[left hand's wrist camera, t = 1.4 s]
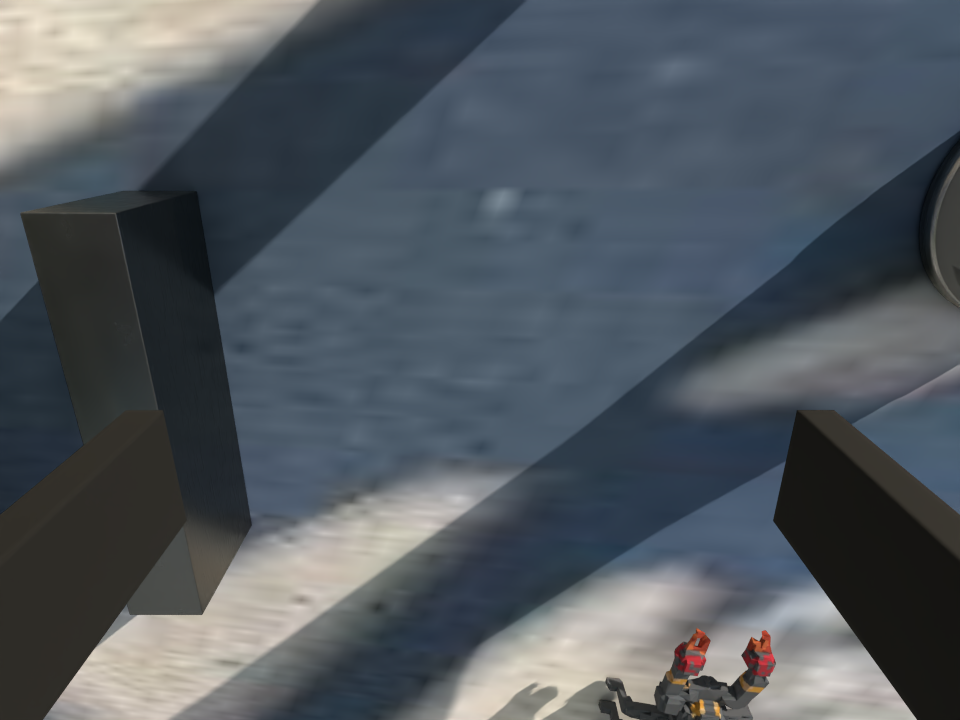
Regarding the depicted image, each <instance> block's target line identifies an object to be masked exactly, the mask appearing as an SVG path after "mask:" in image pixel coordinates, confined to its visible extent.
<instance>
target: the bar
mask: <svg viewBox="0 0 960 720" xmlns="http://www.w3.org/2000/svg"><path fill="white" fill-rule="evenodd" d="M21 218H22V221H23V225H24V229H25V232H26V236H27V240H28V243H29V247H30V251H31V254H32V258H33V262H34V265H35V269H36V273H37V276H38V280H39V284H40V287H41V291H42V295H43V298H44V302H45V305H46V309H47V313H48V316H49V320H50V324H51V327H52V331H53V335H54V338H55V342H56V346H57V349H58V353H59V357H60V360H61V364H62V368H63V371H64V375H65V379H66V382H67V386H68V390H69V393H70V397H71V401H72V404H73V408H74V412H75V415H76V419H77V423H78V426H79V430H80V434H81V437H82V441H83V445H85V444H86V443H87V442H88V441H90V440H91V439H92V438H93V437H94V436H96V435H97V434H98V433H99V432H100V431H102V430H103V429H104V428H105V427H106V426H108V425H109V424H110V423H111V422H112V421H114V420H115V419H116V418H117V417H118V416H120V415H121V414H122V413H123V412H124V411H126V410H163V413H164V417H165V422H166V427H167V431H168V436H169V441H170V445H171V450H172V454H173V459H174V464H175V468H176V473H177V478H178V482H179V487H180V492H181V496H182V501H183V505H184V510H185V515H186V519H187V521H186V523H185V524H184V525H183V527H182V528H181V530H180V531H179V532H178V534H177V535H176V536H175V538H174V539H173V541H172V542H171V543H170V545H169V546H168V548H167V549H166V550H165V552H164V553H163V554H162V556H161V557H160V559H159V560H158V561H157V563H156V564H155V565H154V567H153V568H152V570H151V571H150V572H149V574H148V575H147V577H146V578H145V579H144V581H143V582H142V583H141V585H140V586H139V588H138V589H137V590H136V592H135V593H134V594H133V596H132V597H131V599H130V600H129V601H128V603H127V606H128V609H129V613H130V615H202V614H203V612H204V611H205V609H206V607H207V605H208V603H209V602H210V600H211V598H212V596H213V594H214V593H215V591H216V589H217V587H218V585H219V584H220V582H221V580H222V578H223V576H224V575H225V573H226V571H227V569H228V567H229V566H230V564H231V562H232V560H233V558H234V556H235V555H236V553H237V551H238V549H239V547H240V546H241V544H242V542H243V540H244V538H245V537H246V535H247V533H248V531H249V529H250V528H251V526H252V524H251V518H250V512H249V506H248V500H247V494H246V488H245V482H244V476H243V470H242V464H241V457H240V451H239V445H238V439H237V433H236V427H235V421H234V415H233V409H232V403H231V397H230V391H229V385H228V379H227V373H226V367H225V360H224V354H223V348H222V342H221V336H220V330H219V324H218V318H217V312H216V306H215V300H214V294H213V288H212V282H211V276H210V270H209V263H208V257H207V251H206V245H205V239H204V233H203V227H202V221H201V215H200V209H199V203H198V197H197V192H196V191H120V192H116V193H111V194H106V195H102V196H97V197H92V198H87V199H83V200H78V201H73V202H69V203H64V204H59V205H54V206H50V207H45V208H40V209H36V210H31V211H26V212H22V213H21Z"/></svg>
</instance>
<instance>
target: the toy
mask: <svg viewBox="0 0 960 720" xmlns="http://www.w3.org/2000/svg"><path fill="white" fill-rule="evenodd" d="M697 638H701V639H700V641H699V644H698V646H694V645H695V642H696V640H697ZM770 638H771V637H770V635H769V634H768V633H767V632H766V630H765V631H762V637H761V639H760V641H758V640H756V639H754V638H752V637H751V639H750V641H749V643H748V646H747V648H746V650H745V651H744V652H743V654H742V655H741V656H742V657H743V659H744V661H745V663H746V665H747V667H748V670H747V671H745V672H744V673H743V674H742V675H740V676H739V678H738V679H737V680H736V681H735V682H734V683H733V684H732V685H731V686H727V683H723V682H717V681H716V680H715V679H714V678H713V677H711V676H701V677H699V678H696V679H691V680H687V679H688V677H689V675H693V676H698V674H699V671H700V670H701V671H702V670H703V667H704V664H705V662H706V658H705V656H704V655H705V653H706V651H707V648H708V646H709V644H710V639H709V638H708V637H707V636H706V635H705V633H704V632H702V631H701V630H699V629H697V628H696V634H693V636H692V638H691V639H690V641H689V642H683V643H681V644H680V645H679V646H678V647H677V648H676V649H675V651H674V652H675V659H674V662H673V665H672V667H671V669H670V671H667V672H666V674H665V676H664V679H663V681H662V682H660V684H659V686H656V690H655V694H654V697H655V701H656V705H650V704H645V703H639V702H633V701H632V699H631V698H630V696H627V695H626V692H625V689H624V685H623V682H622V681H621V680H620V679H617V678H606V684H607V687H608V688H609V690H610V691H617V695H618V699H619V703H620V707H621V711H622V713H624V714H625V715H627V716H629V717H631V718H636V719H639V720H753V717H752V715H751V712H750V710H749V708H748V703H749V702H750V701H751V700H752V699H753V698H754V697H756V696H757V695H758V694H759V693H760V692H761V691H762V690H763V689H764V688H765V687H766V686H767V685H768V684H769V682H768V680H767V678H766V676H770V674H771V672H772V671H773V669H774V667H775V665H776V662H775V660H774V657H773V655H772V652H771V647H770ZM725 705H726V706H728V707H730V708H732V709H728V710H727V709H726V707H725ZM599 708H600V711H601V713H606V714H610V718H611V720H622V719H619V716H618V712H617V707H616V703H615V702H613V701H603V700H600V702H599Z"/></svg>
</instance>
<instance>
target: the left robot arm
mask: <svg viewBox="0 0 960 720" xmlns="http://www.w3.org/2000/svg"><path fill="white" fill-rule="evenodd" d="M919 245H920V253H921V258H922V262H923V265H924V268H925V271H926V273H927V275H928V277H929V279H930V280H931V282H932V284H933V285H934V287H935V288H936V289H937V290H938V291H939V293H940V294H941V295H943V296H944V297H945V298H946V299H947V300H948V301H950V302H951V303H953V304H954V305H956V306H958V307H959V308H960V140H959V141H958V142H957V144H956V145H955V146H954V147H953V149H952V150H951V151H950V153H949V154H948V155H947V157H946V158H945V160H944V161H943V163H942V165H941V166H940V168H939V169H938V171H937V173H936V175H935V177H934V179H933V181H932V183H931V186H930V188H929V190H928V193H927V196H926V199H925V202H924V205H923V209H922V214H921V219H920V227H919ZM186 521H187V519H186V515H185V510H184V505H183V501H182V496H181V492H180V487H179V482H178V478H177V473H176V468H175V464H174V459H173V454H172V450H171V445H170V441H169V436H168V431H167V427H166V422H165V417H164V413H163V410H126V411H124V412H123V413H122V414H121V415H120V416H118V417H117V418H116V419H115V420H114V421H112V422H111V423H110V424H109V425H108V426H106V427H105V428H104V429H103V430H102V431H100V432H99V433H98V434H97V435H96V436H94V437H93V438H92V439H91V440H90V441H88V442H87V443H86V444H85V445H84V446H82V447H81V448H80V449H79V450H78V451H76V452H75V453H74V454H73V455H72V456H70V457H69V458H68V459H67V460H66V461H64V462H63V463H62V464H61V465H60V466H58V467H57V468H56V469H55V470H54V471H52V472H51V473H50V474H49V475H48V476H46V477H45V478H44V479H43V480H42V481H40V482H39V483H38V484H37V485H36V486H34V487H33V488H32V489H31V490H29V491H28V492H27V493H26V494H25V495H23V496H22V497H21V498H20V499H19V500H17V501H16V502H15V503H14V504H13V505H11V506H10V507H9V508H8V509H7V510H5V511H4V512H3V513H2V514H1V515H0V720H43V719H44V717H45V716H46V715H47V713H48V712H49V711H50V709H51V708H52V706H53V705H54V704H55V702H56V701H57V699H58V698H59V697H60V695H61V694H62V693H63V691H64V690H65V688H66V687H67V686H68V684H69V683H70V681H71V680H72V679H73V677H74V676H75V675H76V673H77V672H78V670H79V669H80V668H81V666H82V665H83V664H84V662H85V661H86V659H87V658H88V657H89V655H90V654H91V652H92V651H93V650H94V648H95V647H96V646H97V644H98V643H99V641H100V640H101V639H102V637H103V636H104V635H105V633H106V632H107V630H108V629H109V628H110V626H111V625H112V623H113V622H114V621H115V619H116V618H117V617H118V615H119V614H120V612H121V611H122V610H123V608H124V607H125V606H126V604H127V603H128V601H129V600H130V599H131V597H132V596H133V594H134V593H135V592H136V590H137V589H138V588H139V586H140V585H141V583H142V582H143V581H144V579H145V578H146V577H147V575H148V574H149V572H150V571H151V570H152V568H153V567H154V565H155V564H156V563H157V561H158V560H159V559H160V557H161V556H162V554H163V553H164V552H165V550H166V549H167V548H168V546H169V545H170V543H171V542H172V541H173V539H174V538H175V536H176V535H177V534H178V532H179V531H180V530H181V528H182V527H183V525H184V524H185V523H186ZM773 521H774V523H775V524H776V525H777V527H778V528H779V530H780V531H781V532H782V534H783V535H784V536H785V538H786V539H787V541H788V542H789V543H790V545H791V546H792V548H793V549H794V550H795V552H796V553H797V554H798V556H799V557H800V559H801V560H802V561H803V563H804V564H805V565H806V567H807V568H808V570H809V571H810V572H811V574H812V575H813V577H814V578H815V579H816V581H817V582H818V583H819V585H820V586H821V588H822V589H823V590H824V592H825V593H826V594H827V596H828V597H829V599H830V600H831V601H832V603H833V604H834V606H835V607H836V608H837V610H838V611H839V612H840V614H841V615H842V617H843V618H844V619H845V621H846V622H847V623H848V625H849V626H850V628H851V629H852V630H853V632H854V633H855V635H856V636H857V637H858V639H859V640H860V641H861V643H862V644H863V646H864V647H865V648H866V650H867V651H868V652H869V654H870V655H871V657H872V658H873V659H874V661H875V662H876V664H877V665H878V666H879V668H880V669H881V670H882V672H883V673H884V675H885V676H886V677H887V679H888V680H889V681H890V683H891V684H892V686H893V687H894V688H895V690H896V691H897V693H898V694H899V695H900V697H901V698H902V699H903V701H904V702H905V704H906V705H907V706H908V708H909V709H910V711H911V712H912V713H913V715H914V716H915V717H916V719H917V720H960V515H959V514H958V513H957V512H956V511H955V510H953V509H952V508H951V507H950V506H949V505H947V504H946V503H945V502H944V501H943V500H941V499H940V498H939V497H938V496H937V495H935V494H934V493H933V492H932V491H931V490H929V489H928V488H927V487H926V486H924V485H923V484H922V483H921V482H920V481H918V480H917V479H916V478H915V477H914V476H912V475H911V474H910V473H909V472H908V471H906V470H905V469H904V468H903V467H902V466H900V465H899V464H898V463H897V462H896V461H894V460H893V459H892V458H891V457H890V456H888V455H887V454H886V453H885V452H884V451H882V450H881V449H880V448H879V447H878V446H876V445H875V444H874V443H873V442H872V441H870V440H869V439H868V438H867V437H866V436H864V435H863V434H862V433H861V432H860V431H858V430H857V429H856V428H855V427H854V426H852V425H851V424H850V423H849V422H848V421H846V420H845V419H844V418H843V417H842V416H840V415H839V414H838V413H837V412H836V411H834V410H797V413H796V417H795V422H794V427H793V431H792V436H791V441H790V445H789V450H788V454H787V459H786V464H785V468H784V473H783V478H782V482H781V487H780V491H779V496H778V501H777V505H776V510H775V515H774V519H773Z"/></svg>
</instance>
